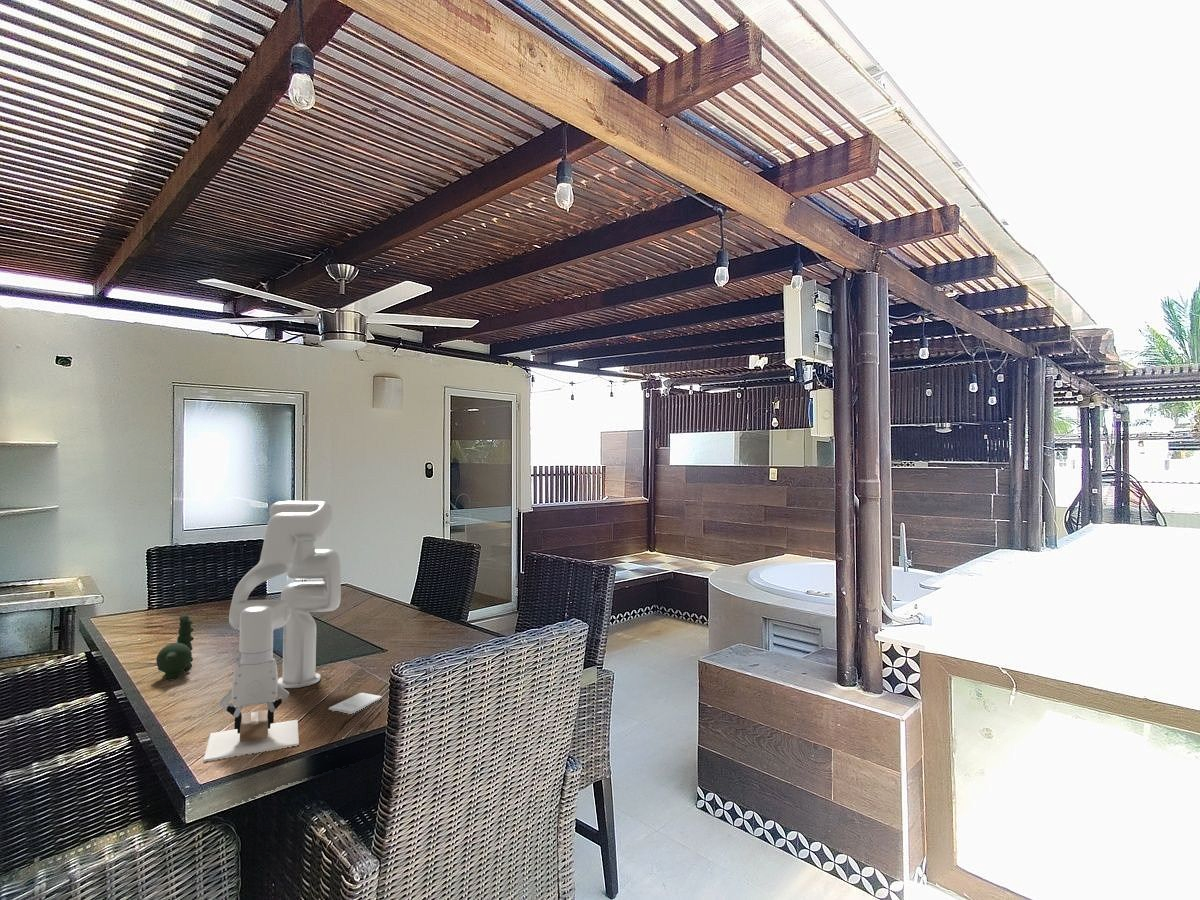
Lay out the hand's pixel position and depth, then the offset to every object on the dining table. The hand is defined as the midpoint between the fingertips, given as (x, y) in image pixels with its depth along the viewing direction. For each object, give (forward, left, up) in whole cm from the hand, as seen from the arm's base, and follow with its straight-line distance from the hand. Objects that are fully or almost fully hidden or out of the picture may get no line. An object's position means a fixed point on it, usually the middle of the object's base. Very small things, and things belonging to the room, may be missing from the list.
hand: (254, 728), depth 157 cm
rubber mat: (0, 0, -3) cm, 3 cm away
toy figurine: (-68, -25, -3) cm, 73 cm away
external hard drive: (-14, +25, -4) cm, 29 cm away
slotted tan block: (0, 0, -1) cm, 1 cm away
